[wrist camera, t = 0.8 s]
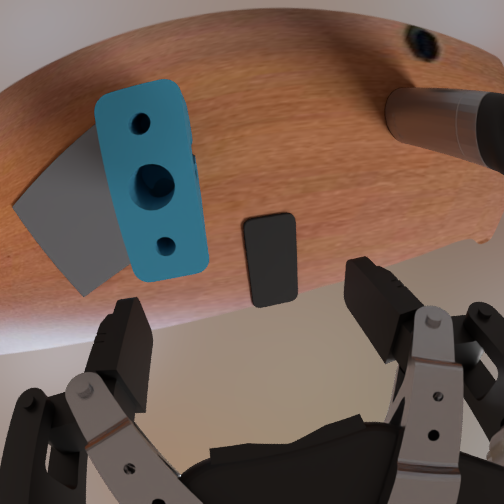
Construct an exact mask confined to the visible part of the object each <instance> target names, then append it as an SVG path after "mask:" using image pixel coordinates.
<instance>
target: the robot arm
mask: <svg viewBox="0 0 504 504" xmlns="http://www.w3.org/2000/svg"><path fill="white" fill-rule="evenodd" d="M385 116H386V122H387V126H388V128H389V130H390V132H391V133H392V135H393V136H394V137H395V138H396V139H397V140H398V141H400V142H402V143H405V144H409V145H413V146H418V147H421V148H425V149H429V150H432V151H436V152H440V153H443V154H447V155H450V156H453V157H457V158H460V159H463V160H466V161H469V162H473V163H476V164H478V165H481V166H484V167H487V168H490V169H492V170H495V171H498V172H500V173H501V174H503V175H504V94H501V93H494V92H485V91H476V90H463V89H448V88H399V89H396V90H395V91H393V92H392V93H391V95H390V96H389V98H388V100H387V103H386V107H385ZM344 300H345V303H346V305H347V308H348V309H349V311H350V312H351V314H352V315H353V316H354V318H355V319H356V321H357V322H358V324H359V325H360V327H361V328H362V330H363V331H364V333H365V334H366V336H367V337H368V338H369V340H370V342H371V343H372V345H373V346H374V348H375V349H376V351H377V352H378V354H379V355H380V357H381V358H382V360H383V361H384V363H385V364H387V363H390V362H392V361H395V360H396V361H397V362H398V367H397V370H396V375H395V381H394V386H393V391H392V396H391V401H390V405H389V409H388V412H387V415H386V418H385V420H384V423H382V422H363V420H362V418H361V416H360V414H358V415H355V416H352V417H350V418H346V419H343V420H341V421H337V422H334V423H331V424H328V425H325V426H323V427H321V428H320V429H318V430H316V431H314V432H312V433H310V434H308V435H306V436H304V437H303V438H301V439H299V440H297V441H295V442H292V443H289V444H251V443H247V444H240V445H234V446H227V447H219V448H211V449H210V458H208V459H205V460H203V461H201V462H199V463H197V464H195V465H193V466H192V467H190V468H189V469H187V470H186V471H185V472H183V474H180V473H179V472H178V471H177V470H175V468H174V467H173V466H172V465H171V464H170V463H169V462H168V461H167V460H166V459H165V458H164V457H163V456H162V455H161V453H160V452H159V451H158V450H157V449H156V448H155V446H154V445H153V444H152V443H151V442H150V441H149V439H148V438H147V437H146V436H145V434H144V433H143V432H142V431H141V430H140V428H139V427H138V426H137V424H136V423H135V422H134V418H135V413H145V412H146V403H147V391H148V381H149V372H150V363H151V354H152V347H153V336H152V331H151V328H150V325H149V323H148V320H147V318H146V316H145V313H144V311H143V308H142V305H141V303H140V301H139V299H138V298H137V297H134V298H127V299H120V300H118V301H117V303H116V306H115V309H114V312H113V314H108V315H107V316H106V318H105V319H104V320H103V321H102V322H101V324H100V326H99V329H98V332H97V336H96V337H95V340H94V344H93V346H92V349H91V352H90V355H89V358H88V362H87V365H86V368H85V371H84V373H81V374H79V375H77V376H75V377H74V378H73V379H72V380H71V381H70V382H69V384H68V385H67V388H66V391H65V392H63V393H60V394H57V395H53V396H50V397H47V396H46V395H45V393H44V392H43V391H42V390H41V389H39V388H30V389H28V390H26V391H24V392H23V393H22V394H21V395H20V397H19V398H18V400H17V402H16V405H15V409H14V412H13V415H12V419H11V422H10V426H9V430H8V434H7V438H6V442H5V447H4V451H3V456H2V461H1V466H0V504H86V472H87V458H88V456H89V457H90V459H91V461H92V463H93V464H94V466H95V468H96V469H97V471H98V473H99V474H100V476H101V477H102V479H103V480H104V482H105V484H106V485H107V486H108V488H109V490H110V491H111V492H112V494H113V495H114V497H115V498H116V499H117V501H118V502H119V504H504V318H503V317H502V316H501V315H500V314H499V313H498V311H497V310H496V309H495V308H493V307H492V306H491V305H489V304H487V303H484V302H474V303H472V304H471V305H470V306H469V308H468V311H467V314H466V315H460V316H450V315H449V314H448V313H447V312H446V311H445V310H443V309H441V308H439V307H436V306H424V305H423V304H422V303H421V302H420V301H419V300H418V299H417V298H416V297H415V296H414V295H413V294H412V292H411V291H410V290H408V288H407V287H405V286H404V285H403V284H402V282H401V281H400V280H398V279H397V278H396V277H395V276H394V275H393V274H392V273H391V272H390V271H388V270H386V269H384V268H382V267H380V266H376V265H375V264H374V263H373V262H372V261H371V260H370V259H369V258H368V257H366V256H364V257H360V258H355V259H350V260H348V261H347V263H346V271H345V284H344ZM484 351H485V353H486V354H487V355H488V357H489V358H490V359H491V360H492V362H493V363H494V364H495V365H496V367H497V369H498V378H497V380H496V381H495V379H494V378H493V376H492V375H491V374H490V372H489V371H488V370H487V368H486V367H485V366H484V364H483V363H482V361H481V360H480V358H481V356H482V354H483V353H484ZM463 397H464V399H465V401H466V402H467V404H468V405H469V407H470V409H471V410H472V412H473V414H474V415H475V417H476V419H477V420H478V422H479V424H480V426H481V427H482V429H483V431H484V432H485V434H486V436H487V438H488V440H489V442H490V445H489V450H490V451H489V452H488V453H487V456H486V458H487V460H484V459H481V458H478V457H475V456H472V455H469V454H466V453H463V452H461V451H460V443H461V433H462V419H463ZM48 444H49V445H51V452H50V459H49V466H48V473H47V471H46V467H45V460H46V454H47V447H48Z"/></svg>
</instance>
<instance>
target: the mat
mask: <svg viewBox="0 0 504 504" xmlns="http://www.w3.org/2000/svg"><path fill="white" fill-rule="evenodd" d="M12 208H13V209H14V211H15V212H16V214H17V215H18V216H19V218H20V219H21V221H22V222H23V224H24V225H25V226H26V228H27V229H28V231H29V232H30V233H31V235H32V236H33V237H34V239H35V240H36V241H37V243H38V244H39V245H40V246H41V248H42V249H43V250H44V252H45V253H46V254H47V255H48V257H49V258H50V259H51V260H52V261H53V263H54V264H55V265H56V266H57V268H58V269H59V270H60V271H61V272H62V273H63V275H64V276H65V277H66V278H67V279H68V280H69V281H70V283H71V284H72V285H73V286H74V287H75V288H76V289H77V290H78V291H79V292H80V294H81V295H82V296H83V297H85V296H86V295H88V294H89V293H90V292H92V291H93V290H94V289H96V288H97V287H98V286H100V285H101V284H102V283H104V282H105V281H107V280H108V279H109V278H111V277H112V276H114V275H115V274H116V273H118V272H119V271H121V270H122V269H123V268H125V267H126V266H128V265H129V264H131V263H130V260H129V257H128V254H127V250H126V247H125V244H124V241H123V237H122V234H121V231H120V227H119V224H118V220H117V217H116V213H115V209H114V206H113V202H112V198H111V194H110V190H109V186H108V182H107V177H106V173H105V169H104V164H103V159H102V154H101V149H100V144H99V139H98V133H97V127H96V124H95V125H93V126H92V127H91V128H90V129H89V130H87V131H86V132H85V133H84V134H83V135H82V136H81V137H79V138H78V139H77V140H76V141H75V142H74V143H73V144H72V145H70V146H69V147H68V148H67V149H66V150H65V151H64V152H63V153H62V154H61V155H60V156H59V157H58V158H57V159H56V160H55V161H54V162H53V163H52V164H51V165H50V166H49V167H48V168H47V169H46V170H45V171H44V172H43V173H42V174H41V175H40V176H39V177H38V178H37V179H36V180H35V181H34V183H33V184H32V185H31V186H30V187H29V188H28V189H27V190H26V192H25V193H24V194H23V195H22V196H21V197H20V199H19V200H18V201H17V202H16V203H15V205H14V206H13V207H12Z"/></svg>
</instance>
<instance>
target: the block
mask: <svg viewBox="0 0 504 504" xmlns="http://www.w3.org/2000/svg"><path fill="white" fill-rule="evenodd" d="M94 115H95V121H96V127H97V133H98V139H99V144H100V149H101V154H102V159H103V164H104V169H105V173H106V177H107V182H108V186H109V190H110V194H111V198H112V202H113V206H114V209H115V213H116V217H117V220H118V224H119V227H120V231H121V234H122V237H123V241H124V244H125V247H126V250H127V254H128V257H129V260H130V263H131V266H132V269H133V272H134V274H135V275H136V276H137V278H139V279H140V280H142V281H144V282H155V281H160V280H165V279H171V278H176V277H181V276H186V275H192V274H197V273H200V272H202V271H203V270H205V269H206V267H207V266H208V263H209V254H208V246H207V239H206V232H205V224H204V216H203V208H202V199H201V193H200V186H199V178H198V171H197V165H196V159H195V155H194V156H192V149H191V144H192V134H191V127H190V121H189V116H188V111H187V106H186V102H185V100H184V98H183V95H182V93H181V91H180V88H179V87H178V85H177V84H176V83H175V82H173V81H171V80H167V79H161V80H156V81H152V82H147V83H143V84H139V85H135V86H131V87H128V88H124V89H121V90H117V91H114V92H110V93H107V94H105V95H103V96H102V97H101V98H100V99H99V100H98V101H97V103H96V105H95V110H94Z"/></svg>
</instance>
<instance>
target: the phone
mask: <svg viewBox="0 0 504 504" xmlns="http://www.w3.org/2000/svg"><path fill="white" fill-rule="evenodd" d="M244 240H245V248H246V256H247V260H248V268H249V276H250V284H251V292H252V299H253V304H254V306H255V307H258V308H262V307H267V306H272V305H276V304H281V303H285V302H290V301H293V300H295V299H296V297H297V295H298V280H297V245H296V221H295V217H294V216H293V215H292V214H290V213H281V214H275V215H269V216H263V217H257V218H251V219H248V220H247V221H246V222H245V223H244Z"/></svg>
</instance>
